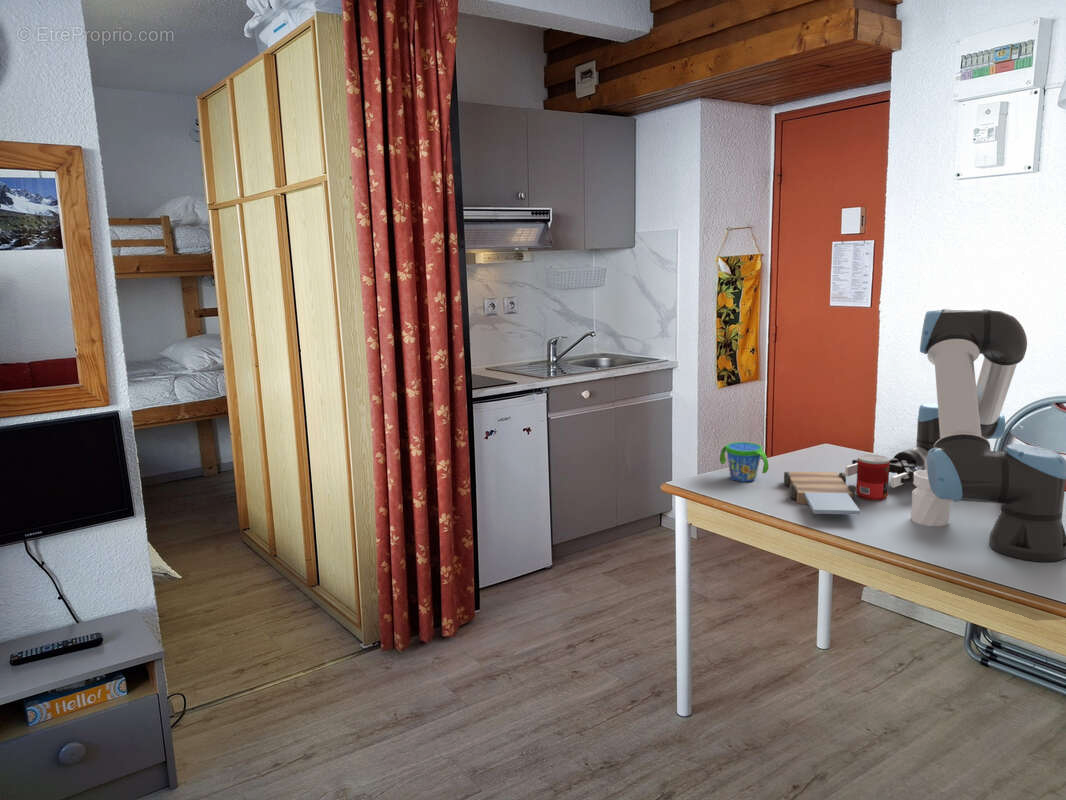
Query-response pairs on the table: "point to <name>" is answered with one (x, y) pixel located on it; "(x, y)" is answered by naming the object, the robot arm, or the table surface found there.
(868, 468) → the canned food
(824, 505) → the grey flat slab
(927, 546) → the table surface
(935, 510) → the vase
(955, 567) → the table surface
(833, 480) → the flatbed
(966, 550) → the table surface
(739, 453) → the snack cup
